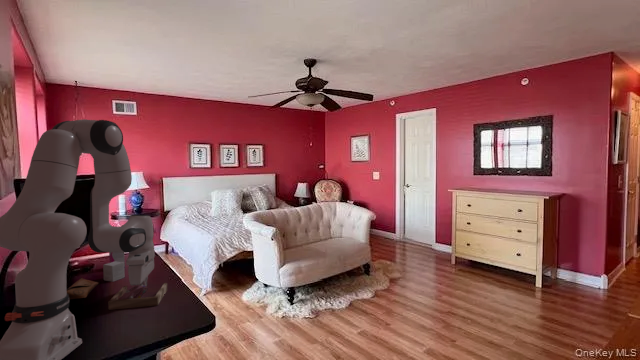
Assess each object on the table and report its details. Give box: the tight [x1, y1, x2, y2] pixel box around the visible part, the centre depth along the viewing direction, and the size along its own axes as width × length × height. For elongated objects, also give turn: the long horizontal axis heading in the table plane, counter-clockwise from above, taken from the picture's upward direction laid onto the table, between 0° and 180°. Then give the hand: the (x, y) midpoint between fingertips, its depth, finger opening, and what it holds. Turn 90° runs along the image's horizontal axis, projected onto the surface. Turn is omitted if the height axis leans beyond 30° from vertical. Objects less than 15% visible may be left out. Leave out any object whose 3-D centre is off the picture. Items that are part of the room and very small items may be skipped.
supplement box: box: [108, 252, 126, 269], centre depth 168 cm, size 6×6×12 cm
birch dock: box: [107, 282, 168, 311], centre depth 129 cm, size 16×16×3 cm
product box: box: [102, 261, 125, 282], centre depth 152 cm, size 6×6×7 cm
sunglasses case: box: [67, 277, 100, 300], centre depth 137 cm, size 18×7×7 cm
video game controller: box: [118, 284, 149, 300], centre depth 126 cm, size 10×5×7 cm, turn 159°
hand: (143, 287), depth 133 cm, fingers closed
